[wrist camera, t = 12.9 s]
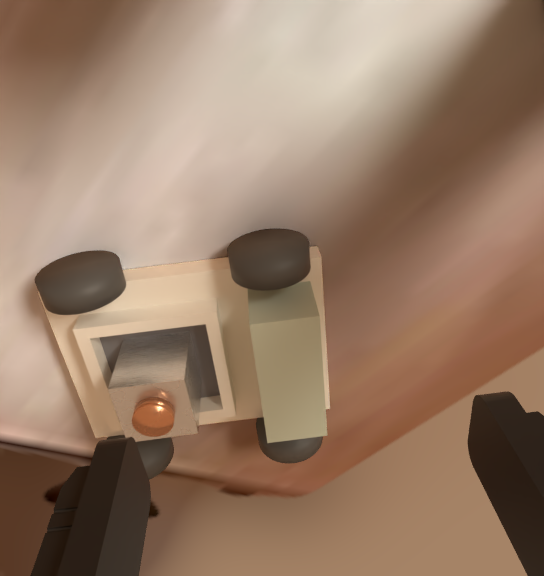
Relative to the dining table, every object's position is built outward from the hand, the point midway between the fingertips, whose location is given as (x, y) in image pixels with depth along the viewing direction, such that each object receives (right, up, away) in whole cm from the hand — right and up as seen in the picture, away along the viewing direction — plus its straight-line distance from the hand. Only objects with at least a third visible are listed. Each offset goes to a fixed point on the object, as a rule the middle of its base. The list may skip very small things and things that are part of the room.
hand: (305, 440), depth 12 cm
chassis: (-7, -1, +33) cm, 33 cm away
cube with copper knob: (-10, -3, +31) cm, 32 cm away
